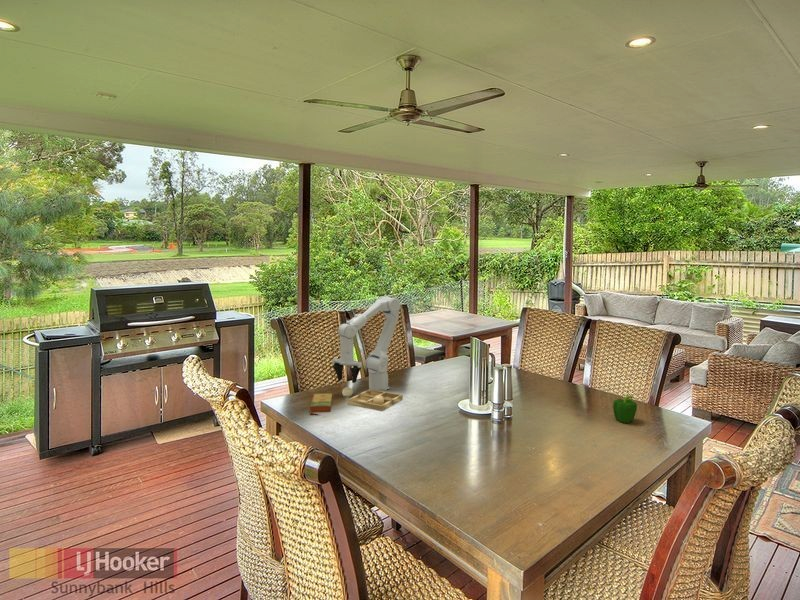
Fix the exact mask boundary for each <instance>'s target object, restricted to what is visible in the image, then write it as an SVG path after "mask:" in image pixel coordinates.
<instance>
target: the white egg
mask: <svg viewBox="0 0 800 600" xmlns="http://www.w3.org/2000/svg"><path fill="white" fill-rule="evenodd" d="M353 392H354V391H353V389H352V388H351V387H350V386H345V387H344V388H343V389H342V396H343V397H350V396H353Z"/></svg>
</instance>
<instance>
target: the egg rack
mask: <svg viewBox="0 0 800 600" xmlns="http://www.w3.org/2000/svg"><path fill="white" fill-rule="evenodd" d="M376 395H381V396H382V397H383V398H384V403H383V405H378V404H374V403H373V398H374V397H375V396H376ZM403 397H404V396H403V394H400V393H394V392H389V391H385V390H372V389H369V388H368V389H367V390H365V391H362V392H360V393H359V394H356V395H353V396H352V397H350V398H347V405H348V406H354V407H359V408H363V409H368V410H374V411H379V412H383V411H385V410H387V409H389V408H390V407H392V406H393V405H396V404H397V403H399V402H401V401H402V400H403V399H404V398H403Z"/></svg>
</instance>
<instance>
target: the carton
mask: <svg viewBox="0 0 800 600" xmlns="http://www.w3.org/2000/svg"><path fill="white" fill-rule="evenodd" d="M310 402H311V403H310V406H309V407H310V408H309V412H310V413H309V416H320V414H318V413H329V412H331V410H332V404H333V393H313V394H312V399H311V401H310Z"/></svg>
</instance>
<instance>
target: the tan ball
mask: <svg viewBox="0 0 800 600" xmlns="http://www.w3.org/2000/svg"><path fill="white" fill-rule="evenodd" d="M373 403H374V404H378V405H383V403H384V398H383V397H382V396H381V395H376V396H375V397H374V398H373Z"/></svg>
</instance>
